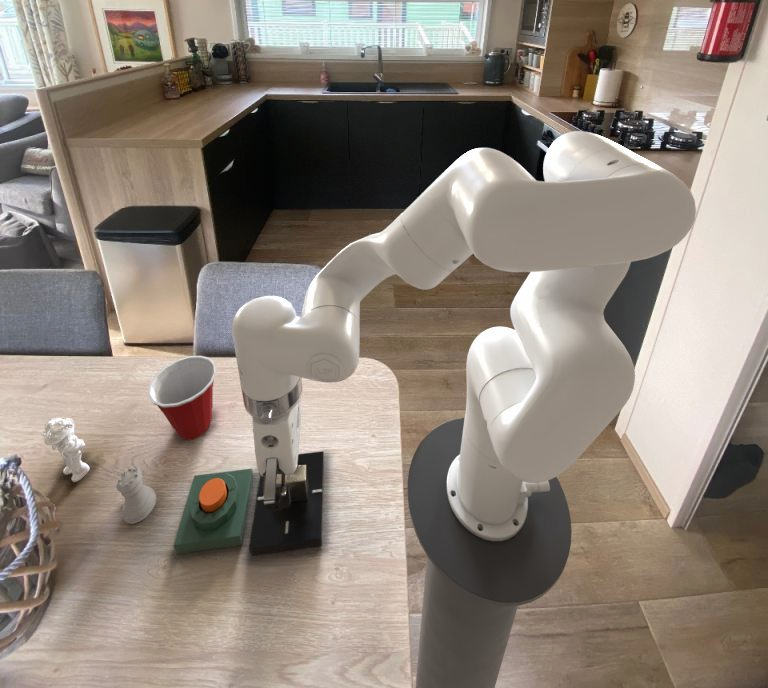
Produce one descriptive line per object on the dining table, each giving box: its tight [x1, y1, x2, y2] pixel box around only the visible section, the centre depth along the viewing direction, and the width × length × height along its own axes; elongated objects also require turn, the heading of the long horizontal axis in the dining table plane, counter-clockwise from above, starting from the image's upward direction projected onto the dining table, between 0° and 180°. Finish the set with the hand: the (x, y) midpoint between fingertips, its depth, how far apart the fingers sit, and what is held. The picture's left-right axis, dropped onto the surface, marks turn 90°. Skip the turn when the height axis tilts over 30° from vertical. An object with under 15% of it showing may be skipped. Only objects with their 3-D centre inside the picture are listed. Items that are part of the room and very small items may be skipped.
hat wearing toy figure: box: [41, 417, 90, 483], centre depth 63 cm, size 9×4×12 cm, turn 60°
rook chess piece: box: [115, 466, 157, 524], centre depth 58 cm, size 4×4×8 cm
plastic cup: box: [147, 355, 217, 441], centre depth 70 cm, size 11×11×12 cm
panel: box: [248, 450, 325, 557], centre depth 60 cm, size 10×12×2 cm
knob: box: [276, 465, 308, 502], centre depth 59 cm, size 6×2×5 cm, turn 97°
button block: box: [173, 468, 255, 555], centre depth 59 cm, size 9×9×4 cm
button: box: [199, 478, 227, 513], centre depth 58 cm, size 4×4×2 cm
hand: (282, 467), depth 57 cm, fingers open, 9 cm apart
